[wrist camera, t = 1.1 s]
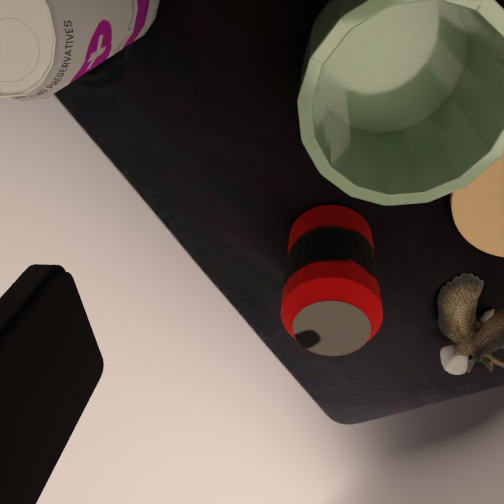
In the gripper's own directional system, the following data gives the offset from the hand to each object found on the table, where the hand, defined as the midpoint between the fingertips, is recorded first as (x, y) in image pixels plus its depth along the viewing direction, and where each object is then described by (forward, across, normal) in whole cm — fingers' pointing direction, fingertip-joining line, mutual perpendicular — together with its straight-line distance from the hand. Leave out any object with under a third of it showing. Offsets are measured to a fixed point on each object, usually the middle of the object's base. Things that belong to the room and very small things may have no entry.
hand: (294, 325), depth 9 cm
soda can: (+30, -1, +17) cm, 34 cm away
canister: (+29, -5, +1) cm, 30 cm away
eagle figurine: (+30, -15, +26) cm, 42 cm away
